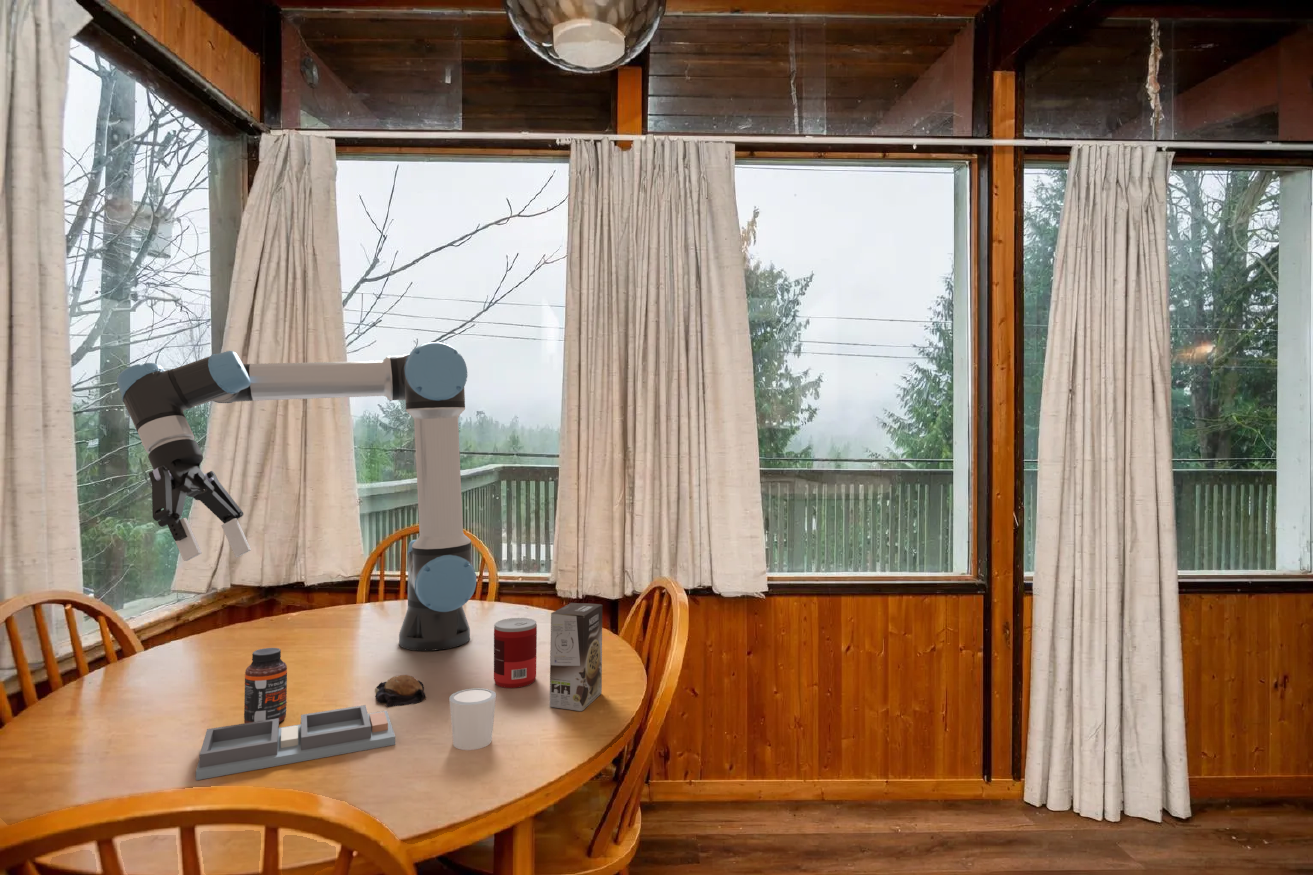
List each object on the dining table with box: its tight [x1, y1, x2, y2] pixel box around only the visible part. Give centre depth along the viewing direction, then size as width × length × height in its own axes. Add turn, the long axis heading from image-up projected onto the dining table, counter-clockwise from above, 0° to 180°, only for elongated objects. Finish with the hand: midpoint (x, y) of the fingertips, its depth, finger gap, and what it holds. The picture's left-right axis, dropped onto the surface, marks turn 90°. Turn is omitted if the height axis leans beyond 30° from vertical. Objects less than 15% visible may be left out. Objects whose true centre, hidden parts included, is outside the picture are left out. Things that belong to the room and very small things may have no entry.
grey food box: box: [549, 602, 603, 712], centre depth 124 cm, size 9×6×16 cm
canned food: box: [493, 617, 538, 689], centre depth 133 cm, size 8×8×11 cm
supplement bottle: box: [243, 647, 288, 724], centre depth 113 cm, size 6×6×11 cm
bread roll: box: [374, 674, 427, 708], centre depth 125 cm, size 11×8×4 cm
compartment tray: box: [195, 704, 396, 781], centre depth 104 cm, size 25×11×3 cm, turn 117°
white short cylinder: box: [448, 687, 497, 751], centre depth 106 cm, size 7×7×7 cm
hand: (219, 555), depth 122 cm, fingers open, 13 cm apart
